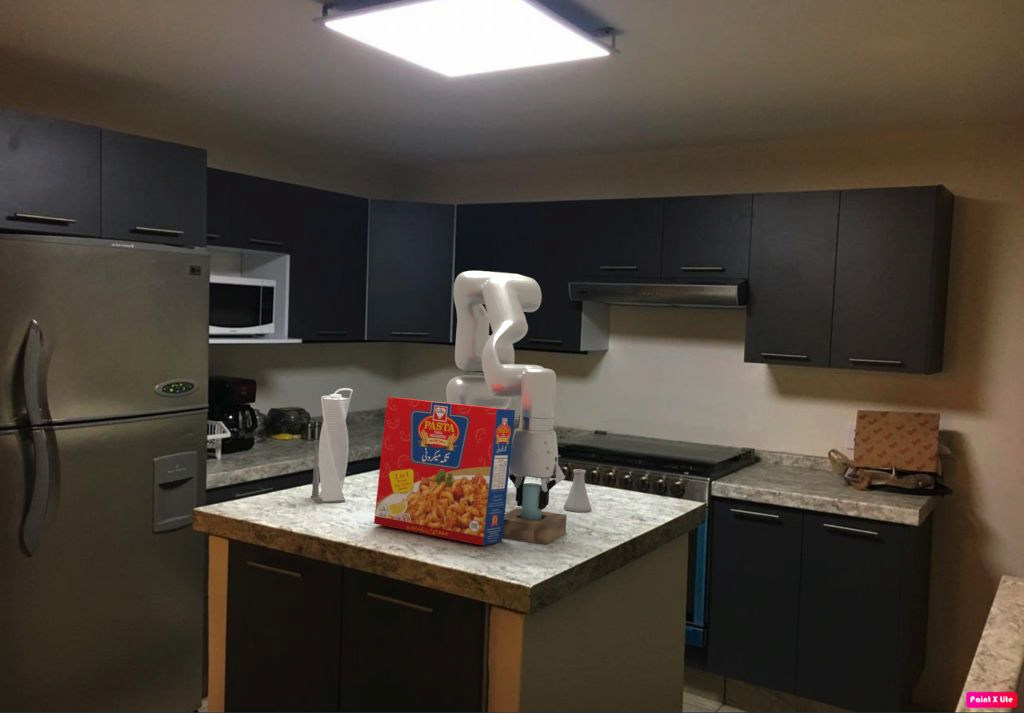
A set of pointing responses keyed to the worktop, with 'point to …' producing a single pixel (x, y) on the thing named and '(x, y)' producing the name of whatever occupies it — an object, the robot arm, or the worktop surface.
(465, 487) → the pasta box
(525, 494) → the teal peg
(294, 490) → the worktop surface
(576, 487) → the flask
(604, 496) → the worktop surface
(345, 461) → the skyscraper
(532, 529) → the walnut pocket block
